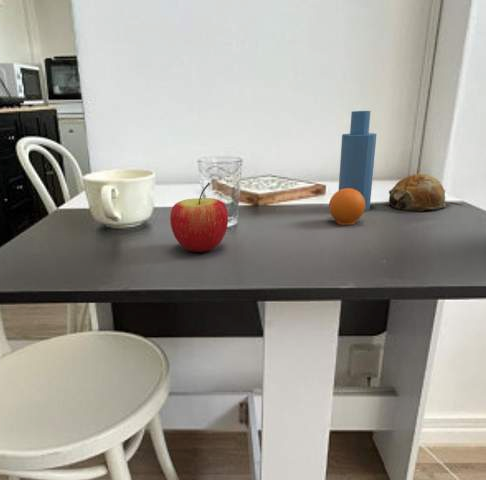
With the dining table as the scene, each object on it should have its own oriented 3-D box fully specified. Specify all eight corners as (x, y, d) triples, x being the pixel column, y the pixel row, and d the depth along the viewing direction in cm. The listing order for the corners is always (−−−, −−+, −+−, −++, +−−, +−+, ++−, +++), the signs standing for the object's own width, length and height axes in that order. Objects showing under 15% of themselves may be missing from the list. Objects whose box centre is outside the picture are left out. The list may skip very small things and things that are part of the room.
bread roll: (438, 230, 82) (465, 192, 79) (389, 207, 82) (413, 168, 79) (423, 217, 91) (446, 182, 88) (378, 197, 91) (400, 161, 88)
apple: (230, 257, 62) (228, 186, 58) (170, 259, 62) (165, 189, 58) (227, 240, 70) (225, 177, 66) (174, 242, 70) (169, 179, 66)
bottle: (354, 204, 90) (362, 110, 83) (376, 209, 84) (386, 110, 78) (331, 207, 87) (336, 112, 81) (351, 213, 82) (359, 111, 76)
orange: (347, 216, 80) (350, 184, 78) (371, 224, 75) (374, 189, 73) (321, 221, 78) (322, 187, 76) (343, 229, 73) (345, 193, 71)
